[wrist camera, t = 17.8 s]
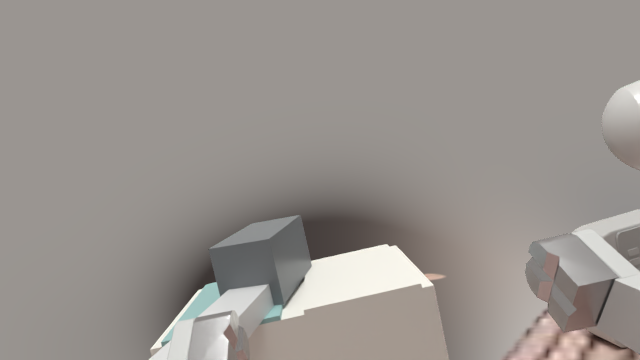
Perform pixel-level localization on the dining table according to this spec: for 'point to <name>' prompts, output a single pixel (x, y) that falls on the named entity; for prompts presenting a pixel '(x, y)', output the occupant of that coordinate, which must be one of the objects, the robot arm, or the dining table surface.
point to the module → (257, 271)
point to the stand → (345, 312)
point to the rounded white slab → (618, 246)
